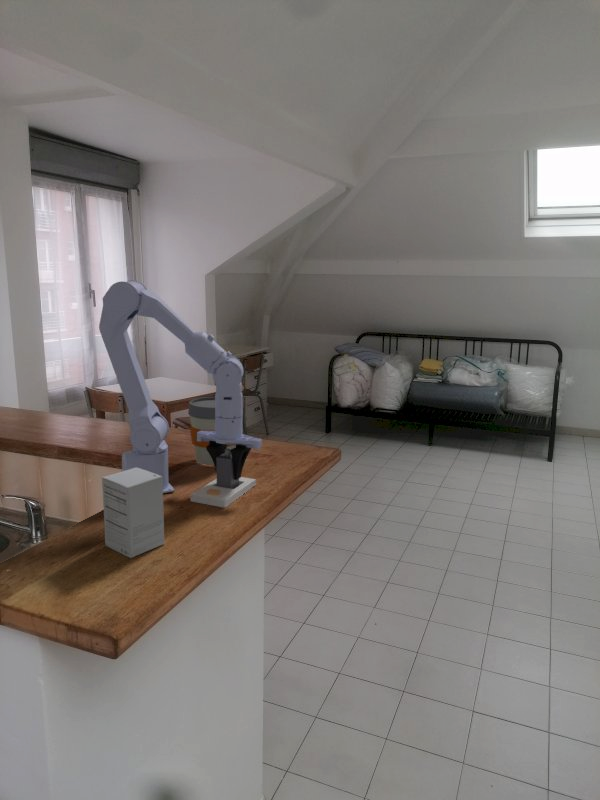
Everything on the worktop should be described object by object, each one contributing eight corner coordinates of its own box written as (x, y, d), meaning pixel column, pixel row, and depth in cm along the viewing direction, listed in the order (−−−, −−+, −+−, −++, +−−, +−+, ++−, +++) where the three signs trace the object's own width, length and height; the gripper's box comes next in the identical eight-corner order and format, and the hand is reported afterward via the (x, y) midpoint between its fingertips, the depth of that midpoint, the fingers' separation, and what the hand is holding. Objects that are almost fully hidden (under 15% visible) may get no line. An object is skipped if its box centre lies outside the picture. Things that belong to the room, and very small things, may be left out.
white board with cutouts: (224, 507, 125) (224, 497, 125) (190, 501, 128) (190, 491, 128) (255, 485, 138) (255, 476, 138) (223, 480, 141) (223, 471, 141)
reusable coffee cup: (246, 466, 151) (247, 406, 148) (195, 471, 146) (194, 409, 143) (232, 452, 162) (232, 395, 159) (184, 456, 158) (183, 398, 154)
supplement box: (139, 532, 113) (137, 466, 111) (165, 544, 109) (164, 475, 106) (103, 546, 108) (100, 476, 105) (129, 559, 103) (127, 486, 100)
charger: (231, 491, 132) (231, 452, 130) (216, 488, 134) (216, 450, 132) (239, 486, 135) (238, 448, 134) (224, 483, 137) (224, 446, 135)
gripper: (188, 415, 131) (189, 477, 133) (251, 423, 125) (250, 488, 128) (206, 408, 137) (206, 468, 140) (266, 416, 132) (265, 477, 135)
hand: (228, 477), depth 134 cm, fingers closed on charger, 3 cm apart
